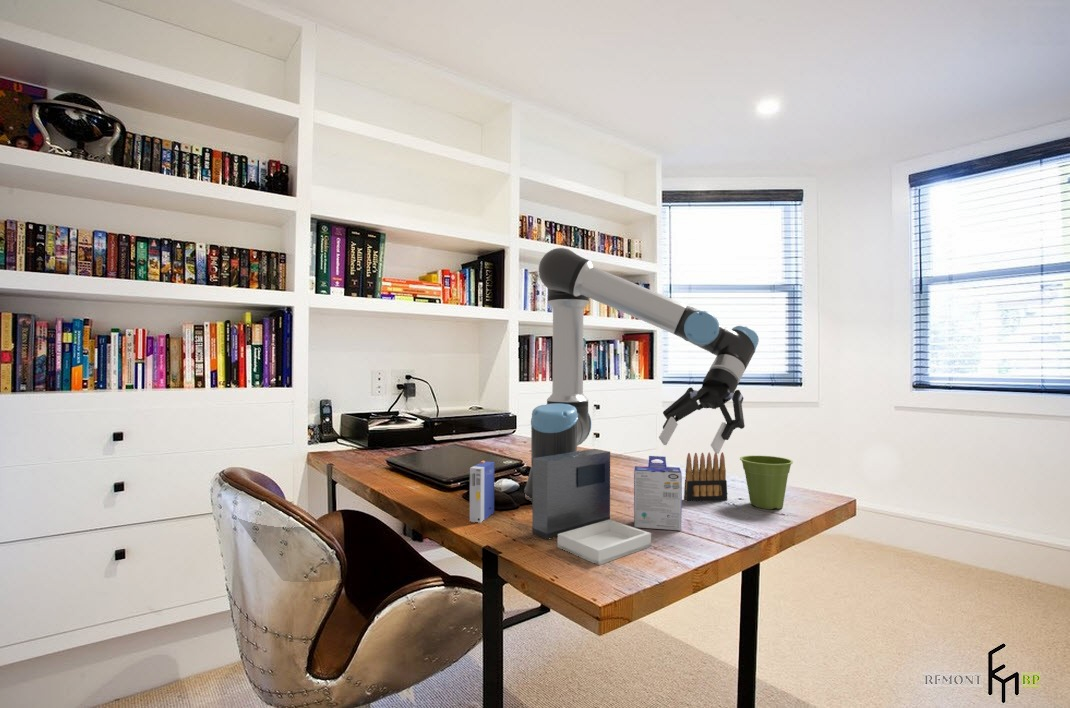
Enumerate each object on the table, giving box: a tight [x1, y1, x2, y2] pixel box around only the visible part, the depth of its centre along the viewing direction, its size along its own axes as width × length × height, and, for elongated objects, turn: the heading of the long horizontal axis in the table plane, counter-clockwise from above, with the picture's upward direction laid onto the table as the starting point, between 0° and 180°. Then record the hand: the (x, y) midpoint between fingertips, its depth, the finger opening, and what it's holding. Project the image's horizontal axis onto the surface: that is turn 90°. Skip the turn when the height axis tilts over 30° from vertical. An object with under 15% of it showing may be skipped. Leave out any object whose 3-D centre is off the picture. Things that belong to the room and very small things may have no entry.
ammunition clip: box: [683, 452, 728, 503], centre depth 129 cm, size 11×2×12 cm, turn 96°
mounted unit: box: [531, 448, 611, 540], centre depth 107 cm, size 5×18×15 cm, turn 129°
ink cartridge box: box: [633, 455, 683, 531], centre depth 108 cm, size 10×6×14 cm, turn 78°
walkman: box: [469, 460, 495, 524], centre depth 114 cm, size 8×3×12 cm, turn 162°
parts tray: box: [557, 518, 652, 566], centre depth 96 cm, size 11×14×2 cm
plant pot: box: [739, 455, 794, 510], centre depth 124 cm, size 12×12×11 cm
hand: (687, 445), depth 115 cm, fingers open, 13 cm apart
